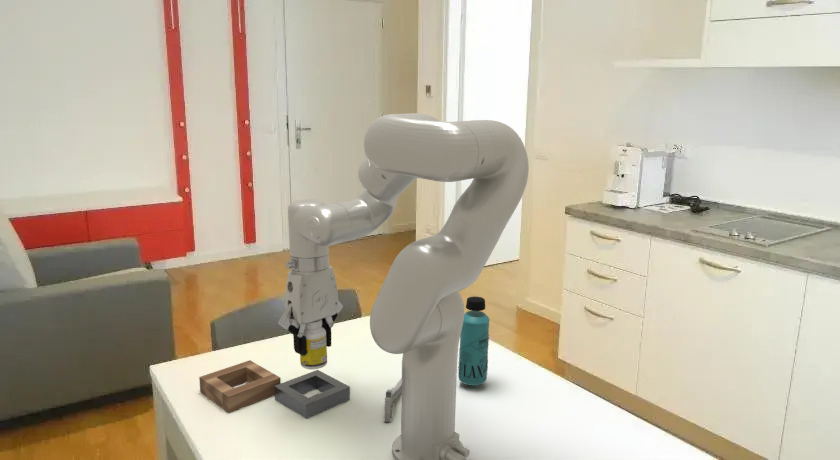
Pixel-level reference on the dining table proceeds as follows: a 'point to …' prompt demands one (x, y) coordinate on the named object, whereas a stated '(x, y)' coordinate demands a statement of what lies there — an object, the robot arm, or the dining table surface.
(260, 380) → the block
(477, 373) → the beverage bottle
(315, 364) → the supplement bottle
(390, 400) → the caliper
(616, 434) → the dining table surface
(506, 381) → the dining table surface
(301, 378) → the socket block
